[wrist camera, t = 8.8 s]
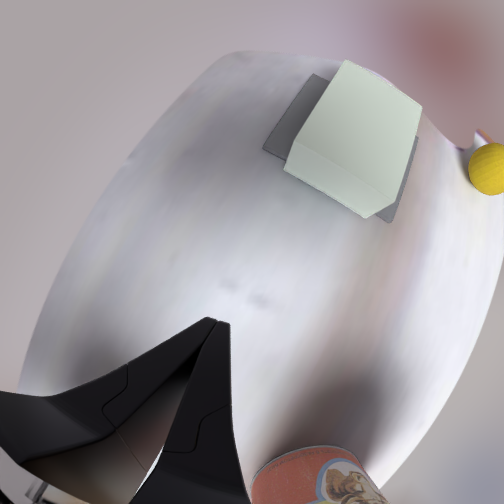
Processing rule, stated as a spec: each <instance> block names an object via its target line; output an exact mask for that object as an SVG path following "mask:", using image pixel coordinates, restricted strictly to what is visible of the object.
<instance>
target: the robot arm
mask: <svg viewBox="0 0 504 504" xmlns="http://www.w3.org/2000/svg"><path fill="white" fill-rule="evenodd" d="M231 404H232V397H231V338H230V324H229V323H227V322H223V321H218V320H216V319H214V318H210V317H205V318H203V319H201V320H200V321H198V322H196V323H195V324H193V325H191V326H190V327H188V328H186V329H185V330H183V331H181V332H180V333H178V334H176V335H175V336H173V337H171V338H170V339H168V340H166V341H165V342H163V343H161V344H159V345H158V346H156V347H154V348H153V349H151V350H149V351H147V352H146V353H144V354H142V355H141V356H139V357H137V358H135V359H134V360H132V361H130V362H128V363H127V364H125V365H123V366H121V367H119V368H118V369H116V370H114V371H112V372H110V373H108V374H106V375H104V376H102V377H100V378H98V379H95V380H93V381H91V382H88V383H86V384H83V385H81V386H78V387H76V388H73V389H71V390H68V391H65V392H63V393H60V394H57V395H53V396H44V397H41V396H31V395H23V394H16V393H10V392H4V391H0V504H251V502H250V499H249V497H248V494H247V491H246V487H245V484H244V480H243V476H242V471H241V467H240V463H239V458H238V454H237V449H236V444H235V438H234V432H233V421H232V405H231ZM163 445H164V447H163ZM162 447H163V449H162ZM161 449H162V453H161V455H160V457H159V460H158V462H157V464H156V466H155V468H154V469H153V471H152V472H151V474H150V475H149V476H148V478H147V479H146V481H145V482H144V483H143V485H142V486H141V487H140V489H139V490H138V488H139V486H140V485H141V483H142V481H143V480H144V478H145V476H146V475H147V473H146V472H148V471H149V469H150V468H151V466H152V464H153V462H154V461H155V459H156V457H157V456H158V454H159V452H160V450H161ZM137 490H138V492H137V493H136V491H137ZM135 493H136V494H135ZM134 495H135V496H134ZM133 496H134V497H133Z"/></svg>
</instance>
